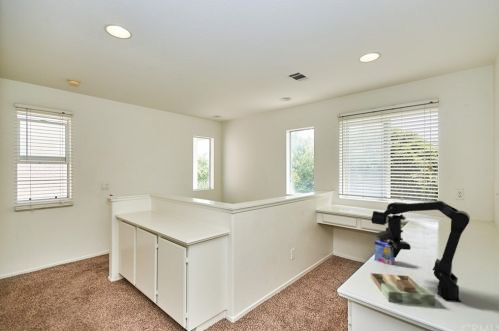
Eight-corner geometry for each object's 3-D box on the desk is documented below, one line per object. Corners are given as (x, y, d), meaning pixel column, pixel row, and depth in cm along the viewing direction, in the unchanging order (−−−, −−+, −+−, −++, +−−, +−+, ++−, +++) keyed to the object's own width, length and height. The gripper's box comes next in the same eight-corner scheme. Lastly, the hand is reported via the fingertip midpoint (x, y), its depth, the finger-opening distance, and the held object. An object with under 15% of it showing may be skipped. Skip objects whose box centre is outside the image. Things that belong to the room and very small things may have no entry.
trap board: (408, 280, 120) (408, 271, 120) (434, 305, 98) (434, 295, 98) (370, 277, 123) (370, 269, 123) (388, 301, 101) (388, 291, 101)
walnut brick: (407, 288, 107) (407, 280, 107) (415, 297, 100) (415, 288, 100) (396, 288, 108) (396, 279, 108) (403, 296, 101) (403, 287, 101)
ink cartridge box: (374, 260, 146) (374, 237, 146) (377, 258, 149) (377, 235, 149) (391, 265, 138) (391, 241, 138) (395, 263, 142) (395, 239, 142)
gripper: (370, 222, 130) (370, 250, 130) (386, 231, 111) (386, 264, 111) (392, 222, 128) (391, 251, 128) (411, 232, 110) (411, 265, 110)
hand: (394, 257), depth 120 cm, fingers closed
